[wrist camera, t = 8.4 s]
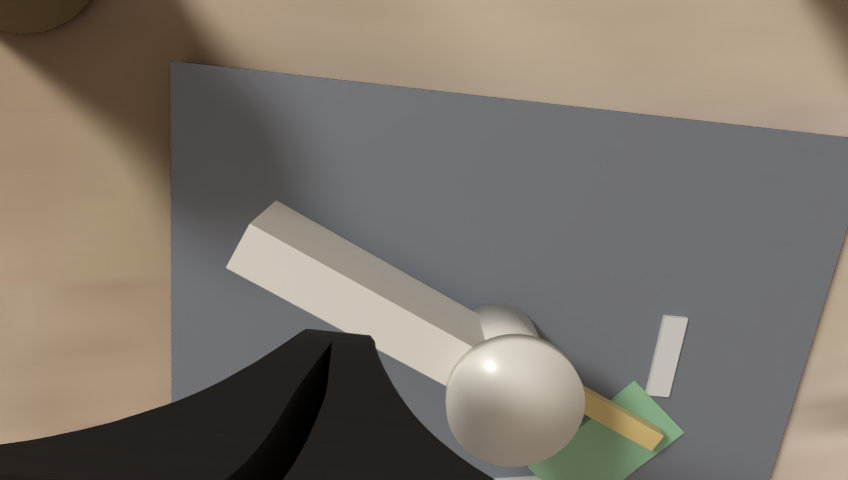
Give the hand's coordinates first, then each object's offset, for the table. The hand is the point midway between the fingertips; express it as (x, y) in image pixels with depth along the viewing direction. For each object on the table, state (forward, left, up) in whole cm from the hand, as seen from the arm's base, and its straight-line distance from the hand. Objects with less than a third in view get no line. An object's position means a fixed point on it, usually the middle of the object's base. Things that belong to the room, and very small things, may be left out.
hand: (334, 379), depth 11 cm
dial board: (-4, -5, -9) cm, 11 cm away
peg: (-2, -4, -8) cm, 9 cm away
